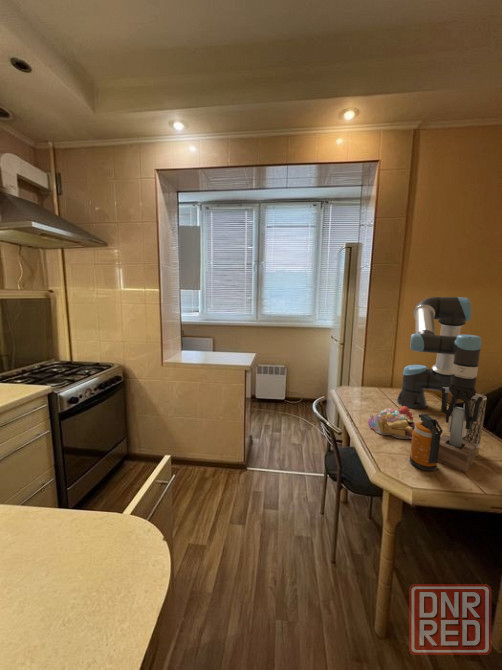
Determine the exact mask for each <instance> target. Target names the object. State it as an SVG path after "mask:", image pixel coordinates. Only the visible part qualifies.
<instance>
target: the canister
mask: <svg viewBox="0 0 502 670" xmlns="http://www.w3.org/2000/svg"><path fill="white" fill-rule="evenodd" d="M418 418H420V422H417V423H415V424H416V425H415V429H414V430H413V432H412V439H411V441H410V442H411V445H410V453H409V462H410V463H411V464H412V465H413V466H414V467H416V468H418V469H421V470H423V471H424V470H425V471H429V472H430V471H435V470H436V469H437V468H438V464H439V461H438V453H439V445H440V437H441V436H442V435H443V434H442V433H443V432H444V430H443V429H442V427H441V425H440V424H439V422H438V420H437V418H436V419H434V418H433V417H431V416H430V415H429V414H427V413H421V414H418Z"/></svg>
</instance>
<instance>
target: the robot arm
mask: <svg viewBox="0 0 502 670" xmlns="http://www.w3.org/2000/svg"><path fill="white" fill-rule="evenodd" d="M412 313H413V315H412V316H413V319H414V320H415V333H412V334H411V336H410V340H409V341H410V342H409V344H410V345H409V348H410V350H411V351H414V352H418V353H430V354H431V353H434V354H436V359H435V364H433V365H432V366H431V369H430V368H428V367H427V365H423V364H409V365H406V366H405V367H403V372H402V382H401V390H400V392H399V394H398V396H397V401H396V402H397V403H398V404H400V405H401V406H406V407H408V408H409V409H417V410H418V409H420V410H422V409H426V408H427V403H428V401H427V399H426V395H425V390H431V391H437V392H441V394H442V395H441V406H440V407H441V410H440V411H441V412H442V413H443V414H445V423H447V430H446V431H447V432H448V433H449V434H450V430H451V422H452V414H453V407H456V403H457V402H458V400H461V401H463V407H464V406H465V414H466V419H465V420H464V421H463V429H462V436H461V437H465V436H466V432H467V429H468V430H469V429H470V427H471V421H474V422H476V421H477V420H478V417H479V412H480V407H481V402H482V401H483V399H484V396H485V395H484V396H480V395H479V394H480V393H478V392H477V390H476V386H477V377H478V370H479V364H480V363H479V362H480V355H481V349H482V348H483V347H482V337H481V336H479V335H474V334H465V333H464V334H462V333H461V329H462V327H464V326H466V323H467V322H469V321H471V318H472V304H471V301H470V299H469V298H468V297H461V296H432V297H426V298H424V299H422V300H421V301H419V302H418V303H417V304H416V305H415V307H414V308H413V312H412ZM434 320H438V322H437V323H438V324H439V325H440V331H439V335H437V334H436V329H435V321H434ZM449 393H451V395H452V396H451V400H450V403H449V406H448V401H449V399H448V397H449V396H448V395H449ZM473 396H475V400H477V401H476V403H475V408H474V413H473V417H472V414H471V406H470V398H472V397H473Z"/></svg>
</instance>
